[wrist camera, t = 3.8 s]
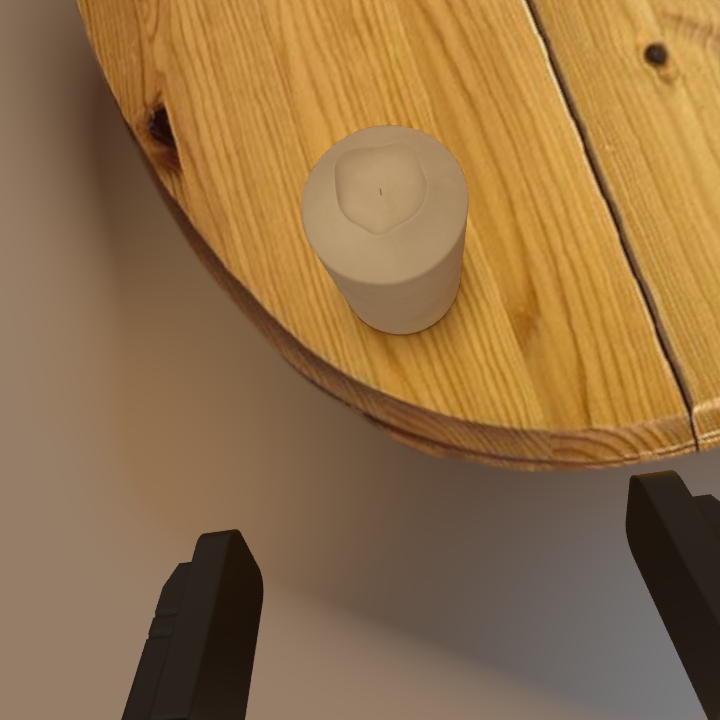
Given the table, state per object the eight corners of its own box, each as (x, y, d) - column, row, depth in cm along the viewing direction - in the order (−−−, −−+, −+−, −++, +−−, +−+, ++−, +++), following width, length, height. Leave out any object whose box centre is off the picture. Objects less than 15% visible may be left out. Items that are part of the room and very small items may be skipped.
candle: (321, 287, 27) (254, 197, 18) (395, 202, 27) (369, 66, 18) (407, 360, 26) (387, 306, 16) (484, 270, 26) (509, 165, 17)
